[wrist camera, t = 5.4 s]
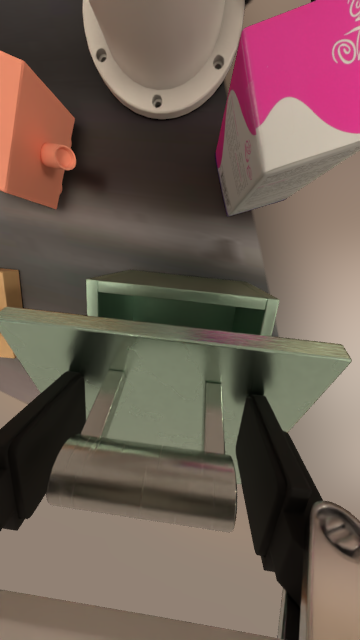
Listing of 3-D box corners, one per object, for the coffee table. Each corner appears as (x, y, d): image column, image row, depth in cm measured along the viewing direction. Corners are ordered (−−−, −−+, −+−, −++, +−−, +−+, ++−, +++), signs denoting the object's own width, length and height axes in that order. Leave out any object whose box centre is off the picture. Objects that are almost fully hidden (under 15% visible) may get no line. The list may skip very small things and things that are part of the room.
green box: (129, 269, 24) (85, 278, 14) (246, 281, 23) (280, 299, 14) (126, 386, 28) (90, 452, 18) (225, 398, 27) (240, 473, 18)
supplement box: (288, 199, 21) (391, 136, 10) (226, 218, 22) (257, 179, 11) (279, 129, 19) (388, -39, 8) (213, 152, 20) (233, 26, 9)
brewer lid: (5, 305, 8) (-171, 452, 4) (343, 343, 8) (473, 548, 4) (90, 451, 18) (58, 535, 15) (240, 472, 18) (249, 566, 14)
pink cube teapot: (92, 223, 23) (36, 206, 15) (-19, 177, 22) (-139, 133, 14) (113, 139, 20) (61, 65, 12) (-10, 85, 20) (-146, -27, 12)
